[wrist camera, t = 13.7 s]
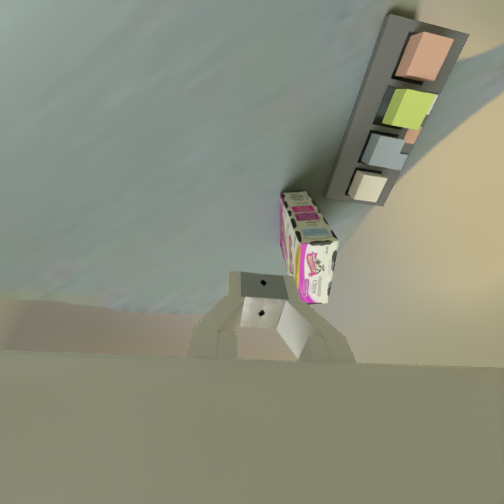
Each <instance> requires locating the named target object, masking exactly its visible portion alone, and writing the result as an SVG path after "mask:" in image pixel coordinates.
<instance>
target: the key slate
mask: <svg viewBox="0 0 504 504" xmlns="http://www.w3.org/2000/svg"><path fill="white" fill-rule="evenodd" d="M405 141H406V140H403V139H399V138H396V137H390V136H385V135H380V134H374V133H372V134H371V137H370V139H369V142H368V144H367V147H366V149H365V152H364V154H363V157H362V159H361V161H362V162H364V163H366V164H368V165H373V166H379V167H385V168H391V169H392V168H393V166H394V164H395V162H396V160H397V158H398V156H399V154H400V152H401V149H402V147H403V145H404V143H405Z"/></svg>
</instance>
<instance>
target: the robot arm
mask: <svg viewBox="0 0 504 504" xmlns="http://www.w3.org/2000/svg"><path fill="white" fill-rule="evenodd" d="M239 327H263V328H275V329H276V330H277V331H278V333H279V334H280V335H281V336H282V338H283V339H284V340H285V342H286V343H287V345H288V346H289V347H290V349H291V350H292V351H293V353H294V354H295V355H296V357H297V358H298V360H297V361H292V360H263V359H237V335H236V334H235V333H236V332H237V330H238V329H239ZM0 504H504V368H494V367H493V368H492V367H463V366H436V365H435V366H434V365H407V364H378V363H357V362H356V360H355V358H354V355H353V353H352V351H351V349H350V346H349V344H348V342H347V340H346V338H345V336H344V335H342V334H341V333H340V332H339V331H338V330H337V329H336V328H334V327H333V326H332V325H331V324H330V323H329V322H328V321H326V320H325V319H324V318H323V317H322V316H321V315H320V314H318V313H317V312H316V311H315V310H314V309H313V308H311V307H310V306H309V305H308V304H307V303H306V302H305V301H301V298H300V295H299V292H298V289H297V286H296V283H295V280H294V277H293V276H285V275H282V276H281V275H269V274H258V273H249V272H239V271H229V274H228V282H227V289H226V296H224V297H223V298H222V299H221V300H220V301H219V302H218V303H217V304H216V305H215V306H214V307H213V308H212V309H211V311H210V312H209V313H208V314H207V315H206V316H205V317H204V318H203V319H202V320H201V321H200V322H199V323H198V324H197V325H196V326H195V327H194V328H193V329H192V335H191V340H190V345H189V351H188V356H187V357H177V356H149V355H119V354H91V353H62V352H33V351H4V350H0Z"/></svg>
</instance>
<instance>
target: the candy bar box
mask: <svg viewBox="0 0 504 504" xmlns="http://www.w3.org/2000/svg"><path fill="white" fill-rule="evenodd" d="M338 243H339V240H338V239H337V237H336V236H335V234H334V232H333V231H332V229H331V228H330V226H329V225H328V223H327V222H326V220H325V219H324V217H323V216H322V214H321V213H320V211H319V210H318V208H317V207H316V205H315V203H314V202H313V200H312V199H311V197H310V196H309V194H308V193H307V191H299V192H285V193H280V246H281V249H282V253H283V257H284V260H285V264H286V268H287V271H288V275H289V276H293V277H294V280H295V283H296V286H297V289H298V292H299V295H300V298H301V301H305V302H306V303H307V304H308V305H310V304H322V303H328V299H329V294H330V289H331V283H332V277H333V272H334V267H335V261H336V255H337V250H338Z"/></svg>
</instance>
